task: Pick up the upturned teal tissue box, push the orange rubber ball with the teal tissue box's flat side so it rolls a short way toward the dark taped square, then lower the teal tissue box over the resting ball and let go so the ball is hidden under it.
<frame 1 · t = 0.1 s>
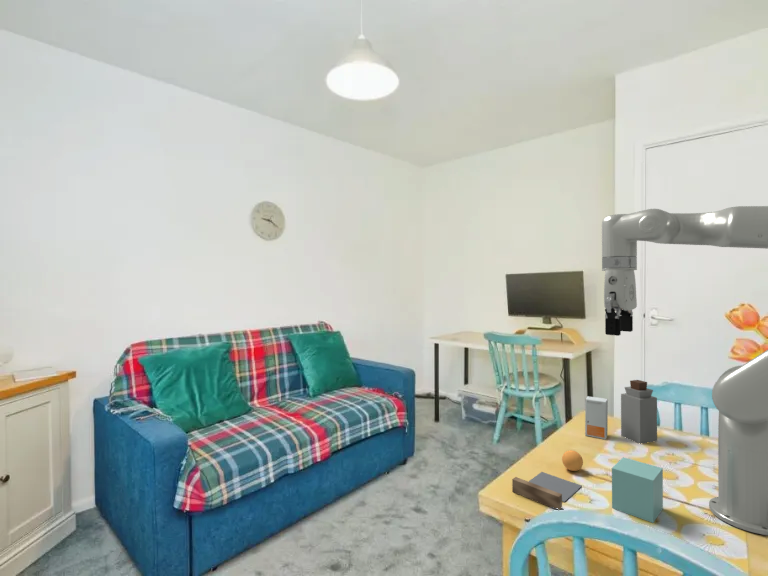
hand: (619, 333, 100), 37 cm above the table, tool pointing down, fingers open, 9 cm apart
skincare box: (596, 436, 128), on the table
perfume bottle: (638, 439, 126), on the table
ball: (572, 460, 105), on the table
teal tissue box: (637, 508, 87), on the table
stopper rail: (536, 499, 91), on the table
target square: (552, 486, 97), on the table
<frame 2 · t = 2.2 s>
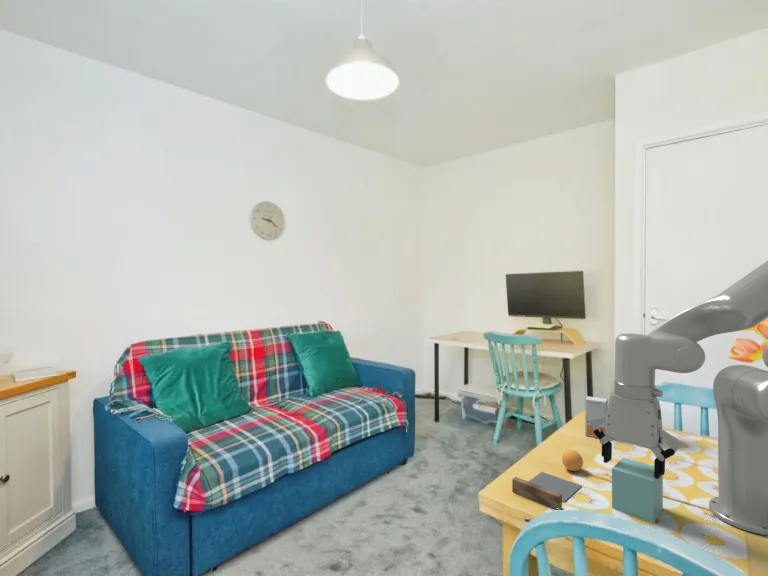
hand: (631, 468, 88), 9 cm above the table, tool pointing down, fingers open, 9 cm apart
teal tissue box: (637, 508, 87), on the table, touching gripper
everything else where it was.
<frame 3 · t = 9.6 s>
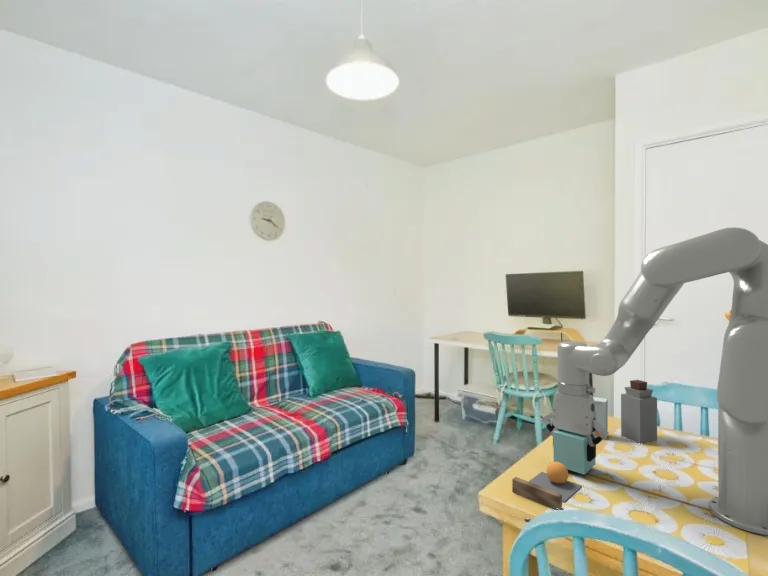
hand: (573, 454, 106), 4 cm above the table, tool pointing down, fingers closed on teal tissue box, 7 cm apart
ball: (557, 472, 99), on the table
teal tissue box: (574, 464, 106), point 1 cm above the table, touching gripper
everything else where it was.
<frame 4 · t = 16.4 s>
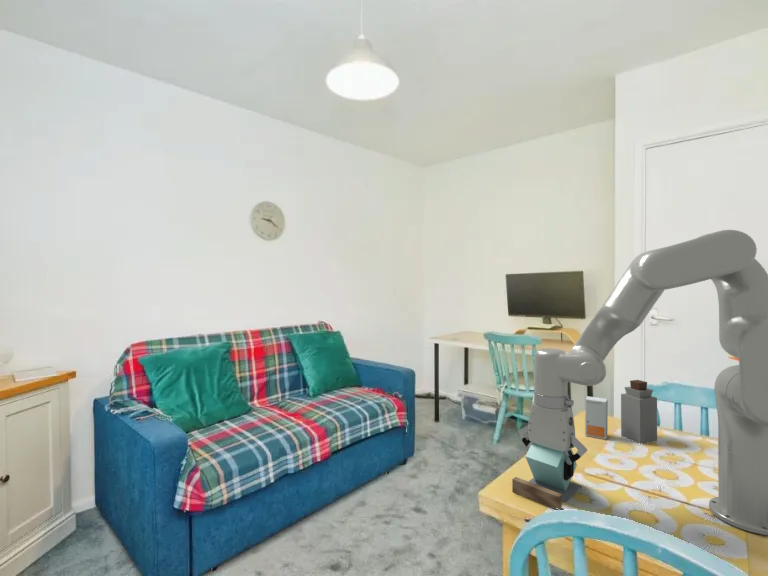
hand: (550, 471, 97), 3 cm above the table, tool pointing down, fingers closed on teal tissue box, 7 cm apart
ball: (558, 471, 100), on the table, touching teal tissue box
teal tissue box: (555, 472, 99), point 2 cm above the table, tilted 33°, touching ball, gripper
everything else where it was.
when the fingers open (3 cm above the table, at t = 17.1 s): teal tissue box drops 2 cm, on the table.
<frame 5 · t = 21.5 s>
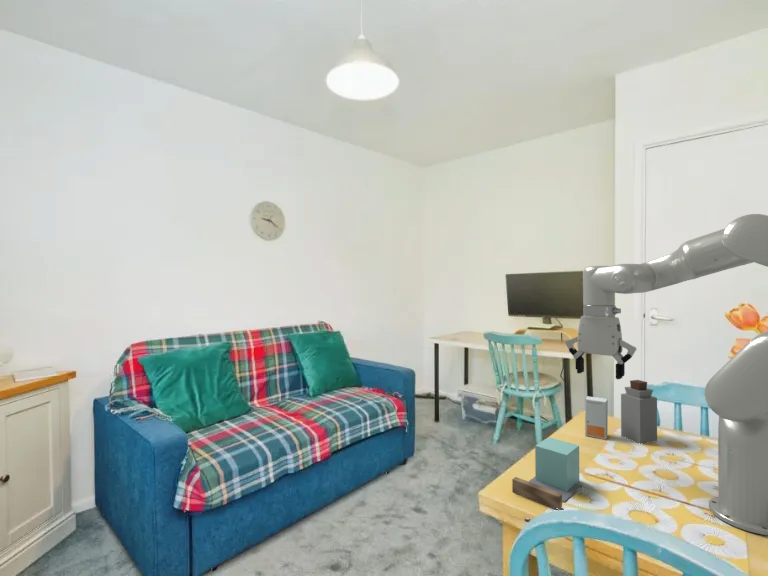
hand: (599, 375, 108), 24 cm above the table, tool pointing down, fingers open, 9 cm apart
ball: (559, 471, 100), on the table
teal tissue box: (557, 480, 100), on the table
everything else where it was.
at the end: ball 0.4 cm from the teal tissue box (horizontally); teal tissue box on the table; ball moved 8.3 cm from its start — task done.
